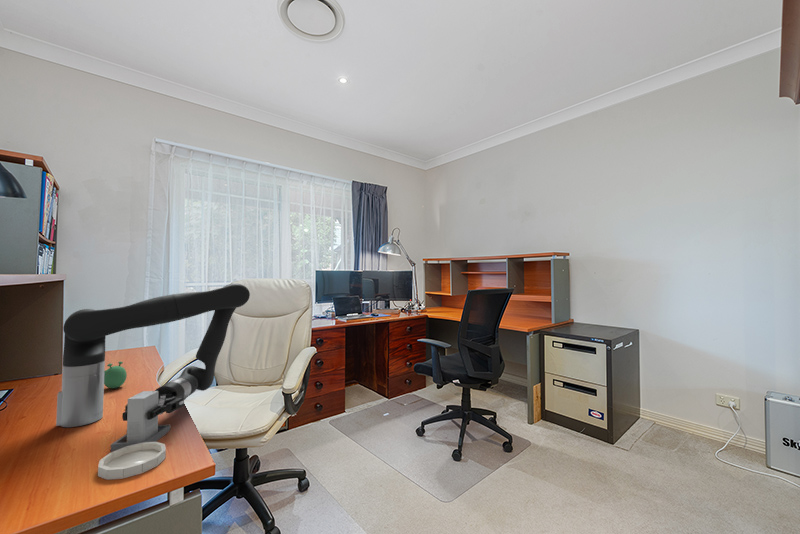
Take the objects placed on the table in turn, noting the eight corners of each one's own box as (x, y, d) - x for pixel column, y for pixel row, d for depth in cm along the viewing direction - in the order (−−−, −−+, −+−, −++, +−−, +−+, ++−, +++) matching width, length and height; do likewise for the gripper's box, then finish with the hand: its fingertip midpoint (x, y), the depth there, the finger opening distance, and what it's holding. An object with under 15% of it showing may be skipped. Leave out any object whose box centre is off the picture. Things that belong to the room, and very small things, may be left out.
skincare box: (141, 435, 91) (143, 390, 91) (158, 434, 91) (159, 390, 92) (125, 446, 85) (126, 398, 85) (142, 445, 85) (144, 398, 86)
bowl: (83, 481, 70) (83, 471, 70) (122, 451, 82) (122, 443, 82) (145, 476, 72) (146, 467, 72) (175, 448, 84) (175, 440, 84)
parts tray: (110, 451, 82) (110, 444, 82) (137, 431, 93) (137, 426, 93) (147, 448, 84) (147, 442, 84) (170, 430, 94) (170, 424, 94)
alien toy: (114, 384, 134) (115, 359, 134) (130, 385, 132) (131, 360, 133) (95, 390, 127) (97, 363, 127) (113, 391, 125) (114, 364, 126)
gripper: (147, 382, 102) (106, 403, 85) (197, 380, 104) (167, 400, 87) (146, 407, 101) (105, 433, 85) (196, 405, 103) (166, 429, 87)
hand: (136, 416), depth 86 cm, fingers open, 5 cm apart
